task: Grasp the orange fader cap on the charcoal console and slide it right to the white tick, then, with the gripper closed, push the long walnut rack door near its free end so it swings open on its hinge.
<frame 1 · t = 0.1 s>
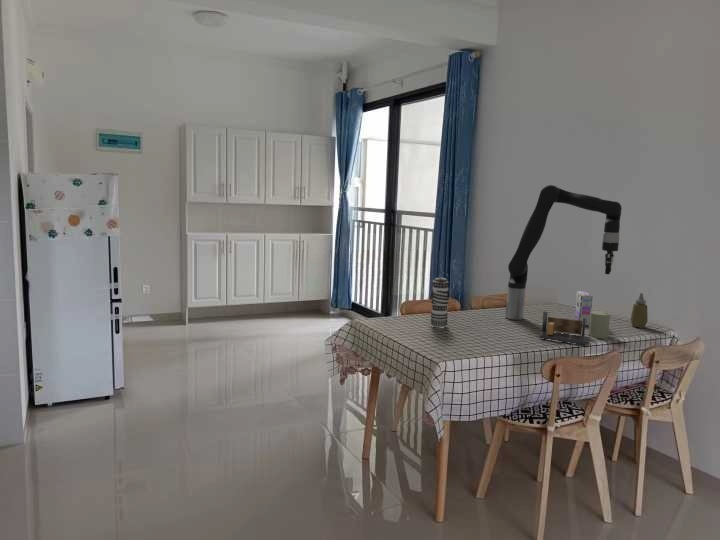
hand: (607, 273, 285), 29 cm above the table, fingers open, 8 cm apart
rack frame: (544, 331, 283), on the table
door: (564, 325, 277), point 4 cm above the table, hinge at 0.0°
fader: (551, 328, 268), point 5 cm above the table, slide at 0.0 cm
decorative candle: (438, 326, 288), on the table
console: (563, 340, 266), on the table
candy box: (582, 323, 302), on the table
can: (598, 336, 276), on the table
squeeze bottle: (638, 327, 296), on the table
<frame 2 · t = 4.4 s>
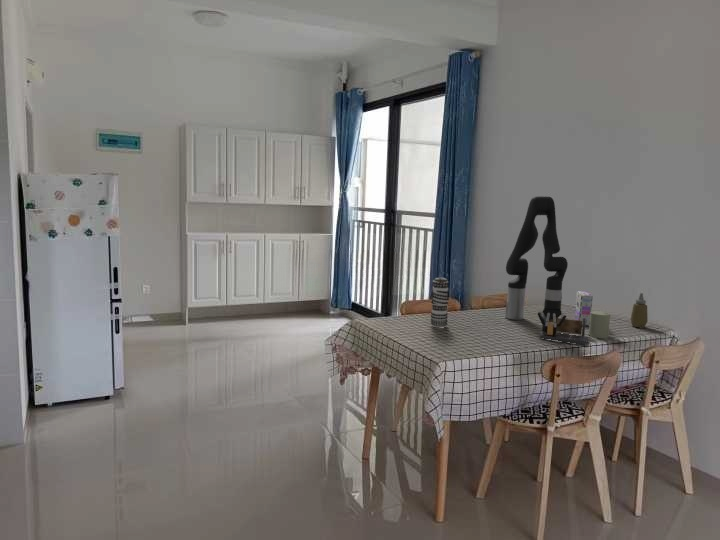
hand: (550, 333, 269), 2 cm above the table, fingers closed on fader, 2 cm apart
fader: (550, 328, 268), point 5 cm above the table, slide at 0.0 cm, touching gripper
everything else where it was.
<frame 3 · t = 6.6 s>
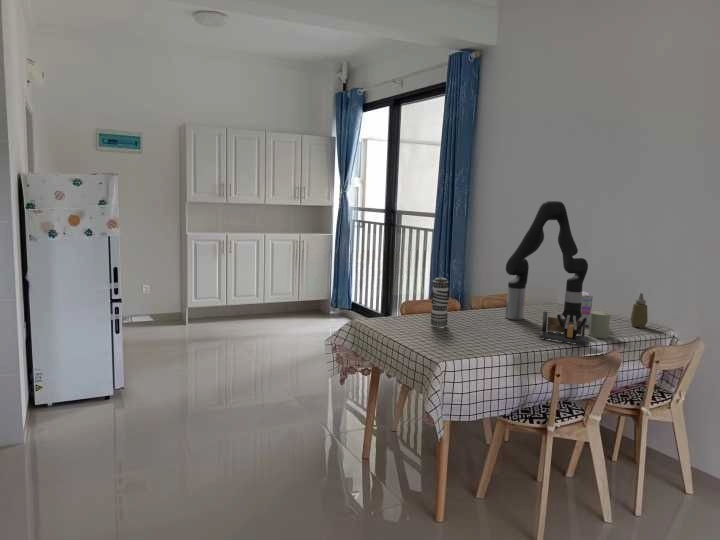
hand: (570, 336, 265), 2 cm above the table, fingers closed
fader: (570, 330, 264), point 5 cm above the table, slide at 8.9 cm
everything else where it was.
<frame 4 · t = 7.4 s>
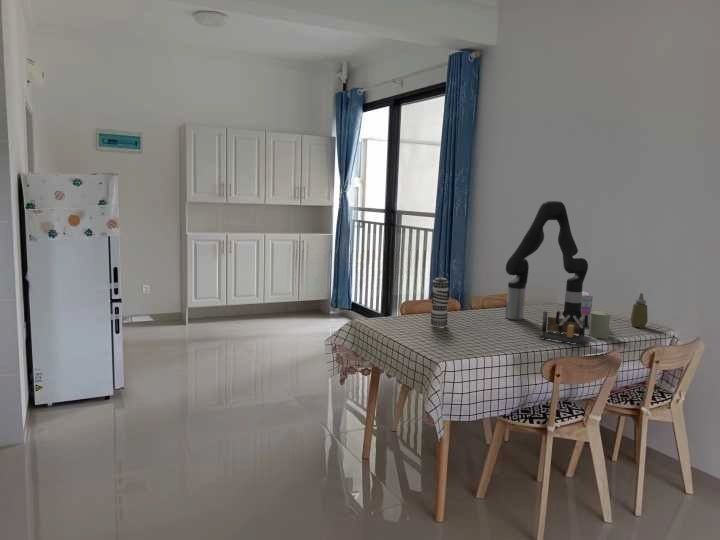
hand: (570, 334, 265), 3 cm above the table, fingers open, 8 cm apart
nothing on the table moved.
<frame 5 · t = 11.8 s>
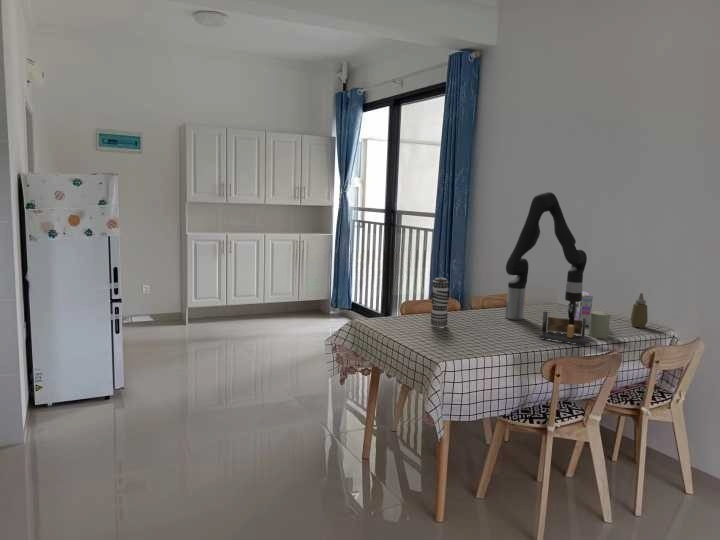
hand: (571, 325, 274), 5 cm above the table, fingers closed
door: (564, 325, 278), point 4 cm above the table, hinge at 1.2°, touching gripper
everything else where it was.
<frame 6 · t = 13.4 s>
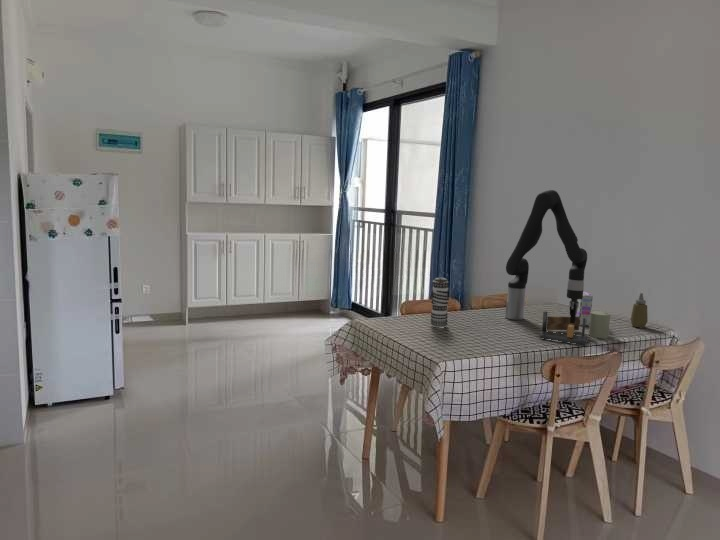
hand: (572, 322, 280), 5 cm above the table, fingers closed
door: (563, 323, 282), point 4 cm above the table, hinge at 29.6°, touching gripper
everything else where it was.
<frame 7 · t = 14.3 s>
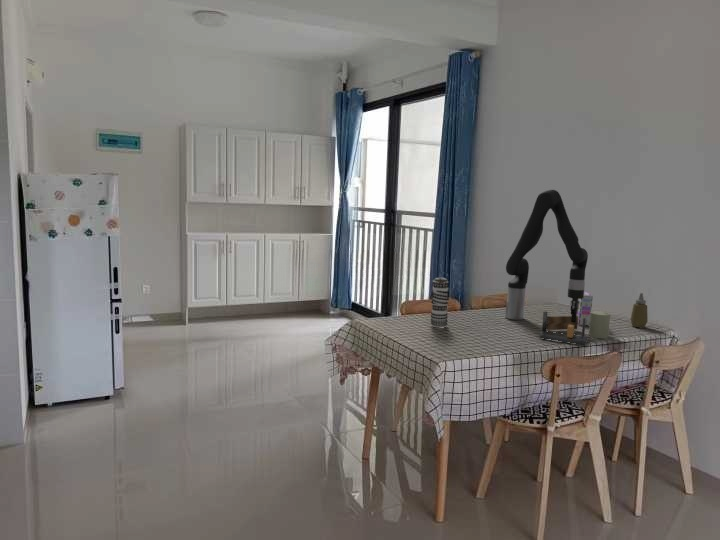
hand: (573, 322, 282), 5 cm above the table, fingers closed
door: (562, 323, 283), point 4 cm above the table, hinge at 35.8°, touching gripper
everything else where it was.
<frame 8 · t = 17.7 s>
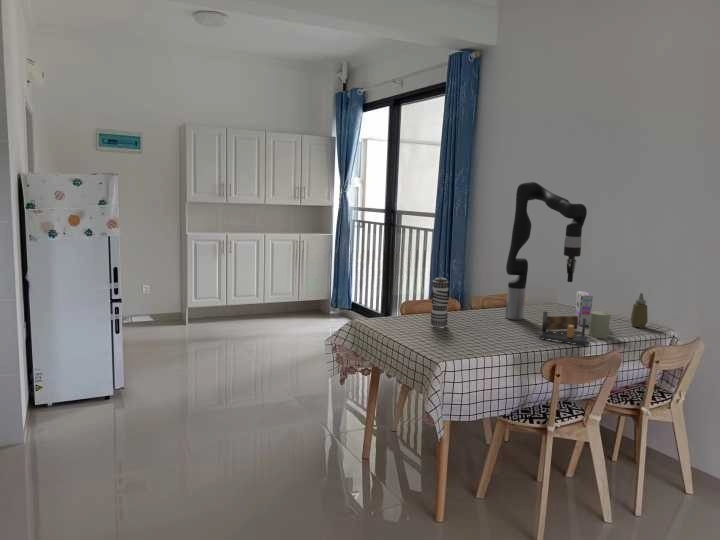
hand: (569, 281, 269), 27 cm above the table, fingers closed
door: (562, 323, 283), point 4 cm above the table, hinge at 36.0°
everything else where it was.
at the end: fader slide at 8.9 cm; door at +36° (first picture: +0°); the gripper is holding nothing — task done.
